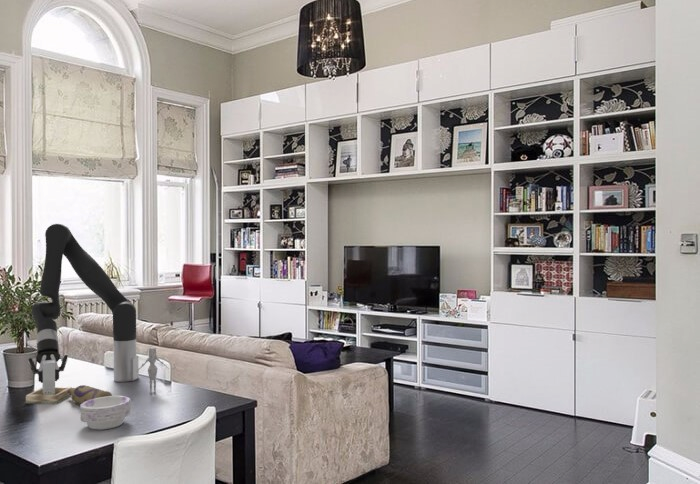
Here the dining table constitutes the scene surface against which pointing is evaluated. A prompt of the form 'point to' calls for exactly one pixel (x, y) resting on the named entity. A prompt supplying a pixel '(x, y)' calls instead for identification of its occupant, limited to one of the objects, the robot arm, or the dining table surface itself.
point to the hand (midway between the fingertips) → (49, 380)
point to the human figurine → (152, 368)
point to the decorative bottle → (86, 393)
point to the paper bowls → (105, 411)
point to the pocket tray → (47, 396)
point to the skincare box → (48, 377)
